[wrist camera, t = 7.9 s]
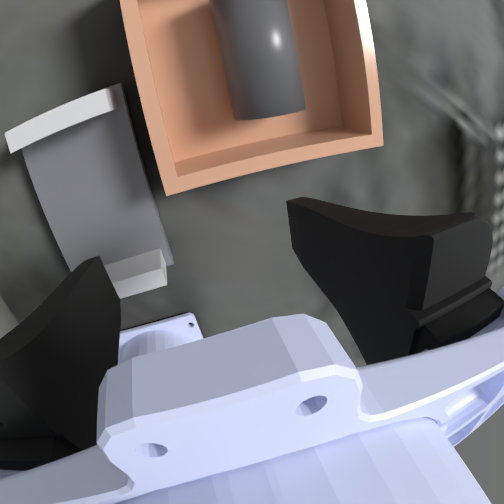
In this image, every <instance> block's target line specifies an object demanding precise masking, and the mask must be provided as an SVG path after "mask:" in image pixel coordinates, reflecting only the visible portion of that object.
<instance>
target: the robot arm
mask: <svg viewBox="0 0 504 504" xmlns="http://www.w3.org/2000/svg"><path fill="white" fill-rule="evenodd" d="M286 203H287V210H288V217H289V225H290V232H291V240H292V248H293V250H294V252H295V253H296V255H297V257H298V259H299V261H300V262H301V264H302V266H303V267H304V269H305V270H306V271H307V272H308V274H309V275H310V276H311V278H312V279H313V280H314V281H315V283H316V284H317V285H318V286H319V288H320V289H321V290H322V291H323V293H324V294H325V295H326V296H327V298H328V299H329V300H330V302H331V303H332V304H333V306H334V307H335V308H336V310H337V311H338V313H339V314H340V316H341V318H342V319H343V321H344V323H345V325H346V326H347V328H348V330H349V331H350V333H351V335H352V337H353V339H354V341H355V342H356V344H357V346H358V348H359V350H360V352H361V354H362V356H363V358H364V360H365V362H366V364H367V365H365V366H360V367H355V366H354V364H353V363H352V361H351V360H350V358H349V357H348V355H347V354H346V352H345V351H344V349H343V348H342V346H341V345H340V343H339V342H338V340H337V339H336V337H335V336H334V334H333V333H332V331H331V330H330V328H329V327H328V325H327V324H326V323H325V322H323V321H320V320H318V319H315V318H313V317H310V316H308V315H305V314H298V315H290V316H282V317H274V318H269V319H266V320H263V321H260V322H257V323H254V324H251V325H247V326H244V327H241V328H238V329H234V330H231V331H228V332H225V333H221V334H218V335H214V336H211V337H208V338H204V339H203V336H202V334H201V331H200V329H199V326H198V323H197V321H196V318H195V316H194V314H192V313H185V314H182V315H178V316H175V317H171V318H168V319H164V320H161V321H157V322H153V323H150V324H146V325H142V326H139V327H135V328H131V329H128V330H124V331H120V327H121V309H120V298H119V296H118V294H117V292H116V290H115V288H114V286H113V284H112V282H111V280H110V278H109V275H108V273H107V271H106V269H105V267H104V265H103V262H102V260H101V258H100V256H96V257H93V258H90V259H87V260H85V261H83V262H82V263H81V264H80V265H78V266H77V267H76V268H75V269H74V270H73V271H72V272H71V273H70V275H69V276H68V277H67V278H66V279H65V280H64V281H63V282H62V283H61V284H60V285H59V286H58V287H57V289H56V290H55V291H54V292H53V293H52V294H51V295H50V296H49V297H48V298H47V299H46V300H45V301H44V302H43V303H42V304H41V305H40V306H39V307H38V308H37V309H36V310H35V311H34V312H33V313H32V314H31V315H29V316H28V317H27V318H26V319H25V320H24V321H23V322H22V323H20V324H19V325H18V326H16V327H15V328H14V329H13V330H11V331H10V332H9V333H7V334H6V335H5V336H4V337H2V338H1V339H0V504H491V502H490V501H489V499H488V498H487V496H486V495H485V493H484V492H483V490H482V489H481V487H480V486H479V484H478V483H477V481H476V480H475V478H474V477H473V475H472V474H471V472H470V471H469V469H468V468H467V466H466V465H465V463H464V462H463V460H462V459H461V458H460V456H459V455H458V453H457V452H456V451H455V449H454V448H453V447H454V446H455V445H457V444H458V443H459V442H461V441H462V440H463V439H464V438H465V437H467V436H468V435H469V434H470V433H471V432H473V431H474V430H475V429H476V428H477V427H478V426H480V425H481V424H482V423H483V422H484V421H485V420H486V419H487V418H489V417H490V416H491V415H492V414H493V413H494V412H495V411H496V410H497V409H498V408H499V407H501V406H502V405H503V404H504V285H503V286H501V287H500V289H499V290H498V291H497V293H495V292H494V291H492V290H491V289H490V287H491V285H492V282H491V280H490V279H489V278H487V277H486V276H485V273H486V270H487V266H488V262H489V258H490V254H491V249H492V242H493V241H492V230H491V227H490V224H489V223H488V222H487V221H486V220H485V219H483V218H482V217H480V216H478V215H477V214H475V213H472V212H469V213H459V214H450V215H437V216H407V215H391V214H383V213H375V212H369V211H363V210H359V209H354V208H349V207H345V206H341V205H337V204H333V203H329V202H325V201H321V200H317V199H312V198H306V197H300V198H296V199H292V200H288V201H286ZM188 323H193V324H188Z"/></svg>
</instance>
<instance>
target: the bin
mask: <svg viewBox="0 0 504 504" xmlns="http://www.w3.org/2000/svg"><path fill="white" fill-rule="evenodd" d="M287 4H288V9H289V14H290V19H291V24H292V29H293V34H294V39H295V44H296V49H297V55H298V60H299V66H300V72H301V78H302V84H303V90H304V96H305V103H306V109H305V110H303V111H300V112H296V113H292V114H287V115H282V116H276V117H270V118H263V119H254V120H235V119H234V117H233V112H232V107H231V102H230V97H229V92H228V88H227V83H226V78H225V73H224V68H223V64H222V59H221V54H220V49H219V45H218V40H217V35H216V30H215V26H214V21H213V16H212V12H211V7H210V2H209V0H120V5H121V11H122V16H123V21H124V27H125V32H126V37H127V42H128V47H129V51H130V56H131V61H132V65H133V70H134V74H135V79H136V83H137V87H138V92H139V96H140V100H141V104H142V108H143V112H144V116H145V120H146V124H147V128H148V132H149V136H150V139H151V143H152V147H153V151H154V154H155V158H156V162H157V165H158V169H159V172H160V176H161V179H162V183H163V186H164V190H165V193H166V196H169V195H172V194H176V193H179V192H183V191H186V190H190V189H193V188H197V187H200V186H204V185H208V184H211V183H215V182H219V181H222V180H226V179H230V178H234V177H238V176H242V175H246V174H250V173H254V172H258V171H262V170H266V169H270V168H275V167H279V166H283V165H288V164H292V163H297V162H301V161H306V160H310V159H315V158H320V157H325V156H330V155H335V154H340V153H345V152H350V151H356V150H361V149H367V148H372V147H378V146H383V131H382V116H381V104H380V93H379V84H378V75H377V67H376V59H375V52H374V45H373V39H372V32H371V26H370V21H369V15H368V10H367V5H366V0H287Z"/></svg>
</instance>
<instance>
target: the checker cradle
mask: <svg viewBox="0 0 504 504" xmlns="http://www.w3.org/2000/svg"><path fill="white" fill-rule="evenodd" d="M5 136H6V140H7V143H8V147H9V150H10V153H13V152H15V151H17V150H19V149H21V150H22V153H23V156H24V159H25V162H26V165H27V168H28V171H29V174H30V177H31V180H32V182H33V185H34V188H35V190H36V193H37V196H38V198H39V201H40V203H41V206H42V209H43V211H44V213H45V216H46V218H47V221H48V223H49V225H50V228H51V230H52V232H53V235H54V237H55V239H56V241H57V243H58V246H59V248H60V250H61V252H62V254H63V256H64V258H65V260H66V263H67V265H68V267H69V269H70V271H71V272H72V271H73V270H74V269H75V268H76V267H77V266H78V265H80V264H81V263H82V262H83V261H85V260H87V259H90V258H93V257H96V256H100V258H101V260H102V262H103V265H104V267H105V269H106V271H107V273H108V275H109V278H110V280H111V282H112V284H113V286H114V288H115V290H116V292H117V294H118V296H119V298H124V297H127V296H131V295H134V294H138V293H141V292H144V291H148V290H151V289H155V288H158V287H162V286H165V285H167V274H166V266H169V265H173V264H174V261H173V255H172V253H171V250H170V247H169V244H168V241H167V238H166V235H165V232H164V229H163V226H162V223H161V220H160V217H159V213H158V210H157V207H156V204H155V201H154V198H153V194H152V191H151V188H150V184H149V181H148V178H147V174H146V171H145V168H144V164H143V161H142V157H141V154H140V150H139V146H138V143H137V139H136V135H135V132H134V128H133V124H132V120H131V116H130V113H129V109H128V105H127V101H126V96H125V92H124V88H123V84H122V83H119V84H116V85H113V86H110V87H107V88H104V89H101V90H99V91H96V92H93V93H90V94H88V95H85V96H83V97H80V98H78V99H75V100H73V101H70V102H68V103H65V104H63V105H61V106H58V107H56V108H54V109H52V110H49V111H47V112H45V113H43V114H41V115H38V116H36V117H34V118H32V119H30V120H28V121H26V122H24V123H22V124H20V125H18V126H16V127H15V128H13V129H11V130H9V131H8V132H6V133H5Z"/></svg>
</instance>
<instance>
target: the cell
mask: <svg viewBox="0 0 504 504" xmlns="http://www.w3.org/2000/svg"><path fill="white" fill-rule="evenodd" d="M209 2H210V7H211V12H212V16H213V21H214V26H215V30H216V35H217V40H218V45H219V49H220V54H221V59H222V64H223V68H224V73H225V78H226V83H227V88H228V92H229V97H230V102H231V107H232V112H233V117H234V119H235V120H254V119H263V118H270V117H276V116H282V115H287V114H292V113H296V112H300V111H303V110H305V109H306V103H305V96H304V90H303V84H302V78H301V72H300V66H299V60H298V55H297V49H296V44H295V39H294V34H293V29H292V24H291V19H290V14H289V9H288V4H287V0H209Z"/></svg>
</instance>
